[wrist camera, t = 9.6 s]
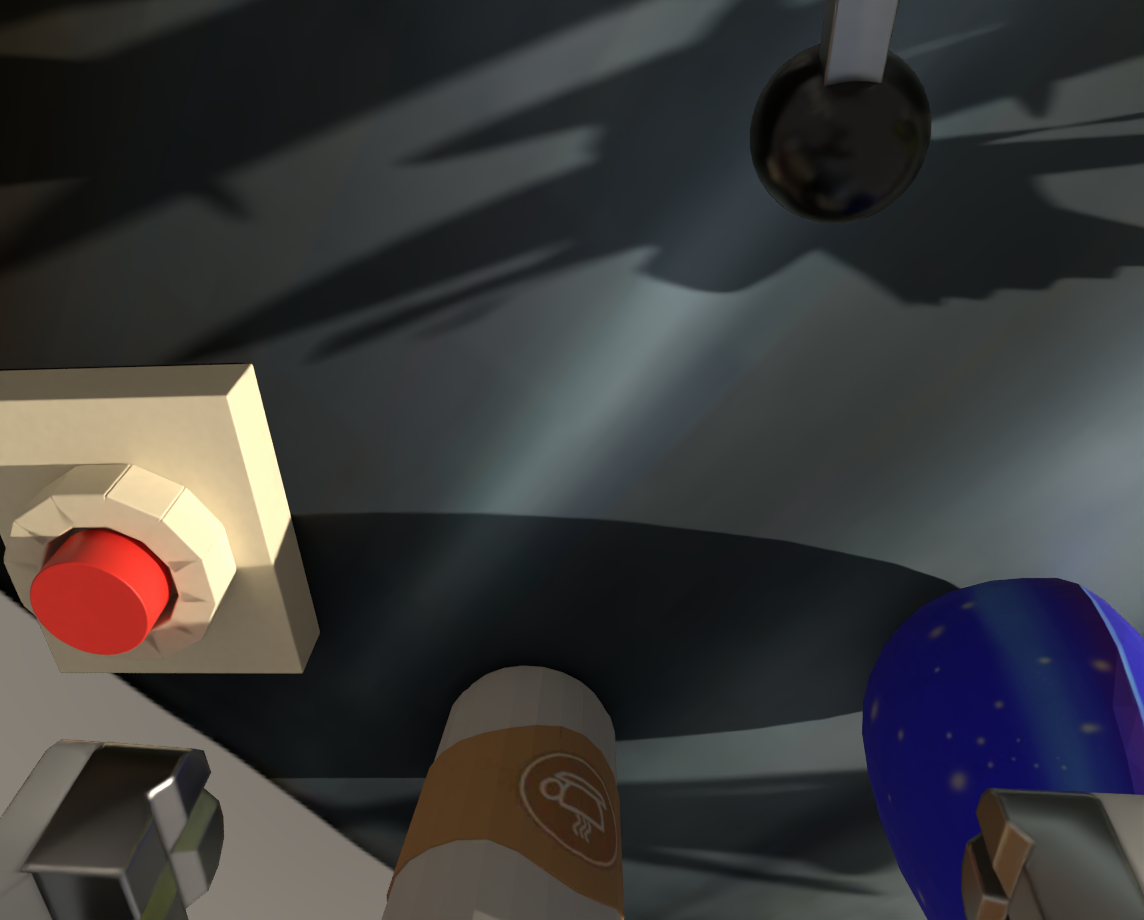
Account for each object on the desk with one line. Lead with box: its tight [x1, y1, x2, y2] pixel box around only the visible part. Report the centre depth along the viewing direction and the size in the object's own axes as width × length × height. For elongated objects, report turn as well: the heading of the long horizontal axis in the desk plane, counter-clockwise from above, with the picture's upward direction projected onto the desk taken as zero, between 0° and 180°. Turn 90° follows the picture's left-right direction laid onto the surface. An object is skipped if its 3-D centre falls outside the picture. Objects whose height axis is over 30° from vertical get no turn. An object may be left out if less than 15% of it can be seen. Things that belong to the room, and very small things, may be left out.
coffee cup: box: [382, 666, 624, 920], centre depth 32 cm, size 8×8×15 cm
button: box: [30, 529, 172, 655], centre depth 31 cm, size 4×4×2 cm
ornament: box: [862, 578, 1144, 920], centre depth 29 cm, size 11×9×15 cm
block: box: [0, 364, 320, 673], centre depth 33 cm, size 11×9×4 cm
